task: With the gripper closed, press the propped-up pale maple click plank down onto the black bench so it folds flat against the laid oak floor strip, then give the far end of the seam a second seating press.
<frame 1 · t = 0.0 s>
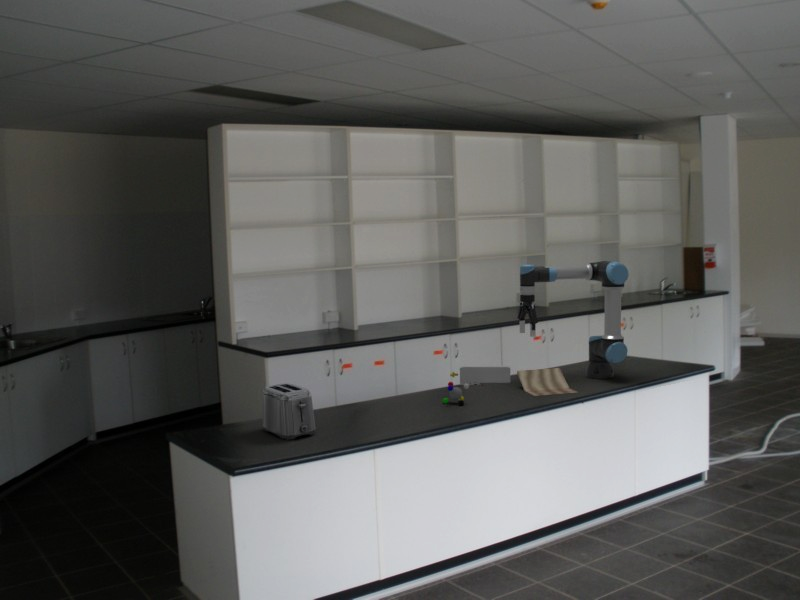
hand: (527, 334, 399), 28 cm above the counter, fingers open, 13 cm apart
floor strip: (547, 392, 390), on the counter
molecular model: (456, 403, 370), on the counter
toaster: (287, 432, 324), on the counter
plank: (542, 380, 395), point 5 cm above the counter, hinge at 38.0°
decorative sign: (480, 385, 412), on the counter
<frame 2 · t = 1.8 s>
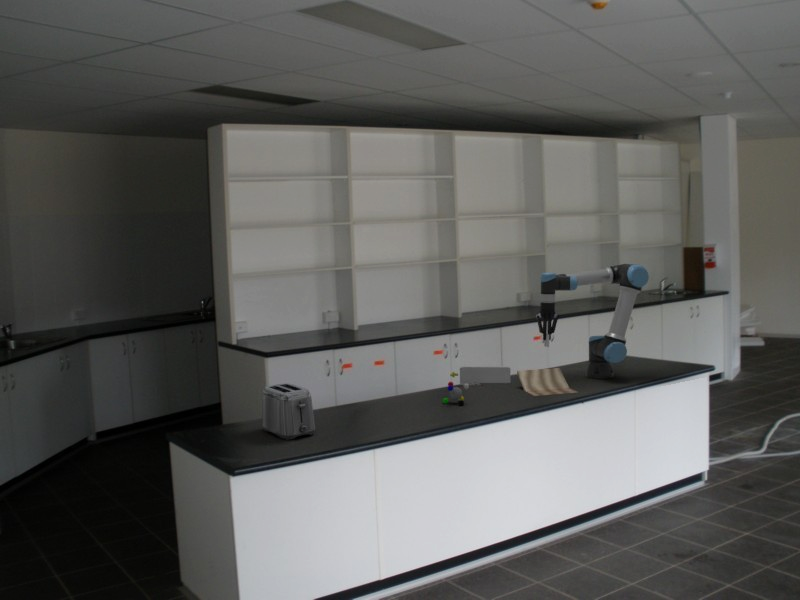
hand: (546, 346, 404), 21 cm above the counter, fingers closed
nothing on the counter moved.
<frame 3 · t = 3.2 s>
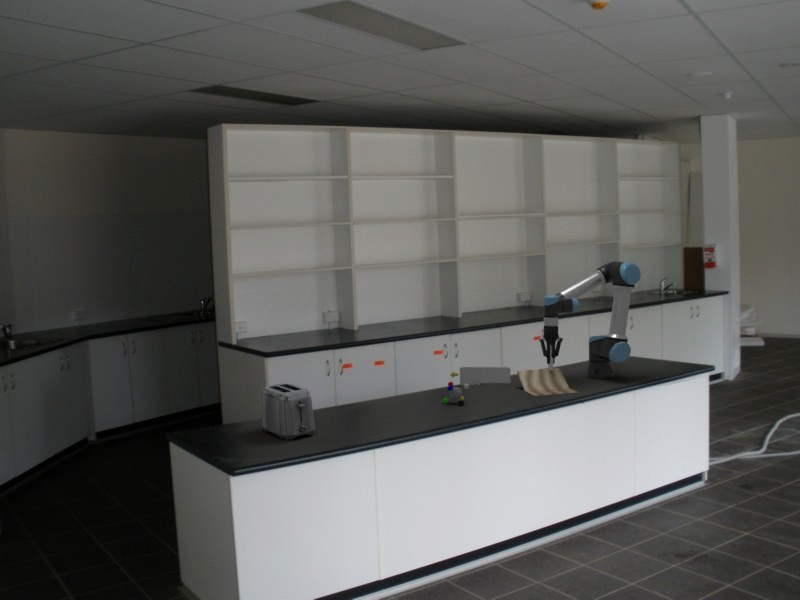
hand: (550, 369, 399), 9 cm above the counter, fingers closed
plank: (542, 380, 395), point 5 cm above the counter, hinge at 38.0°, touching gripper
everything else where it was.
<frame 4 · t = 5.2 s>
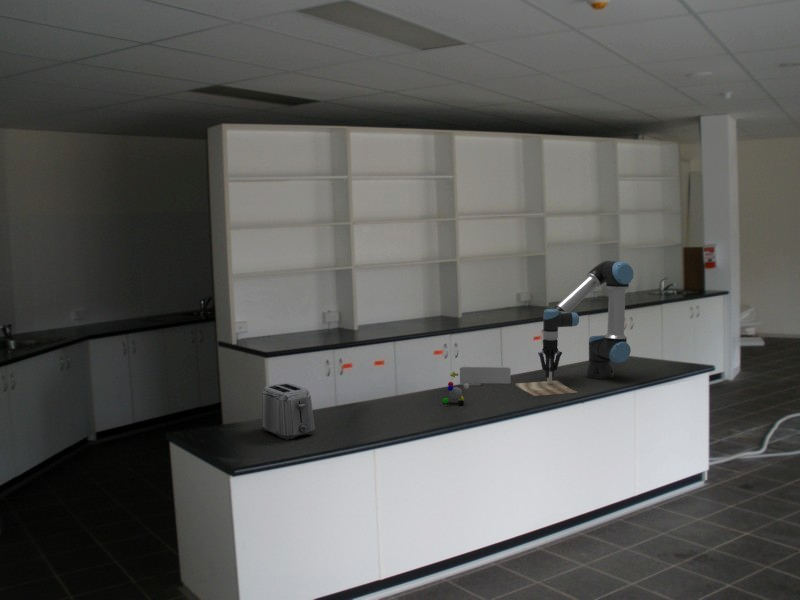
hand: (549, 383, 400), 2 cm above the counter, fingers closed
plank: (542, 386, 397), point 1 cm above the counter, hinge at 5.1°, touching gripper
everything else where it was.
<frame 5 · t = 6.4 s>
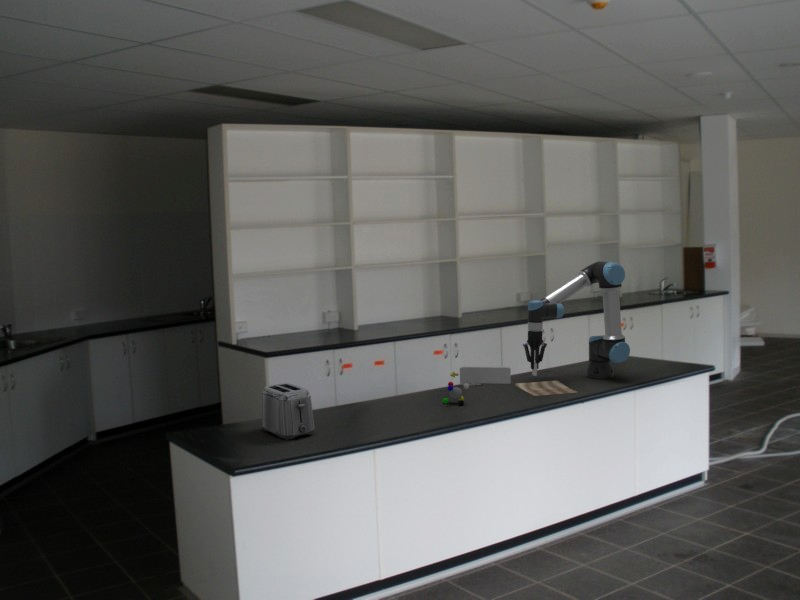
hand: (534, 375, 397), 7 cm above the counter, fingers closed
plank: (542, 386, 397), point 1 cm above the counter, hinge at 5.1°
everything else where it was.
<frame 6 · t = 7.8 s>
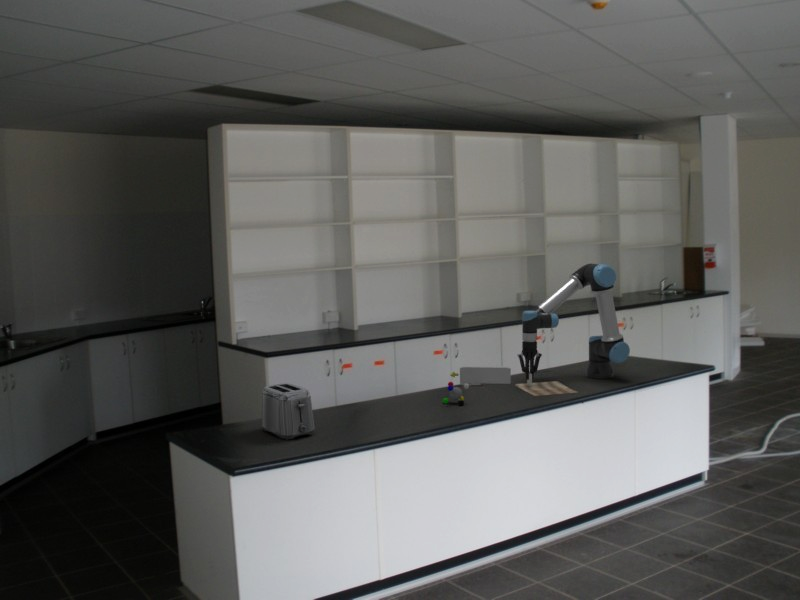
hand: (529, 385, 397), 2 cm above the counter, fingers closed
plank: (542, 387, 397), point 1 cm above the counter, hinge at 3.9°, touching gripper
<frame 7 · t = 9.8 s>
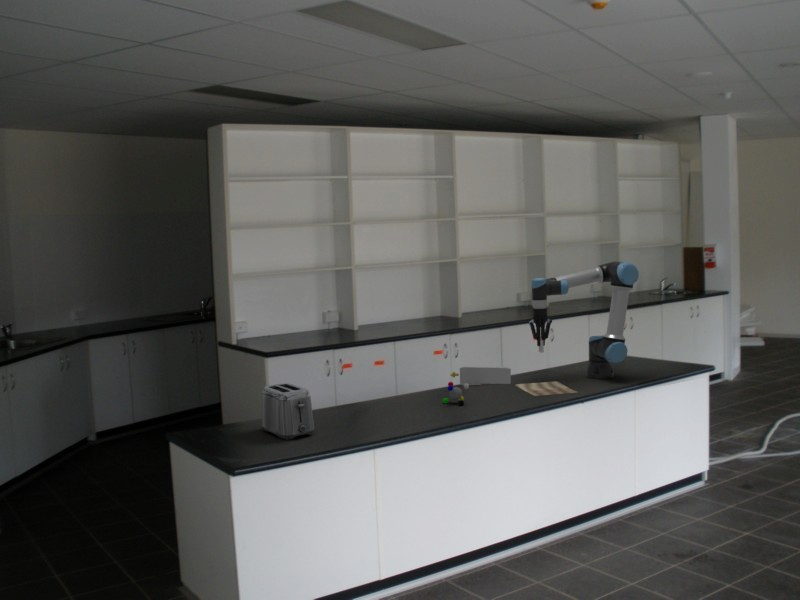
hand: (541, 352, 402), 18 cm above the counter, fingers closed
plank: (542, 387, 397), point 1 cm above the counter, hinge at 3.4°
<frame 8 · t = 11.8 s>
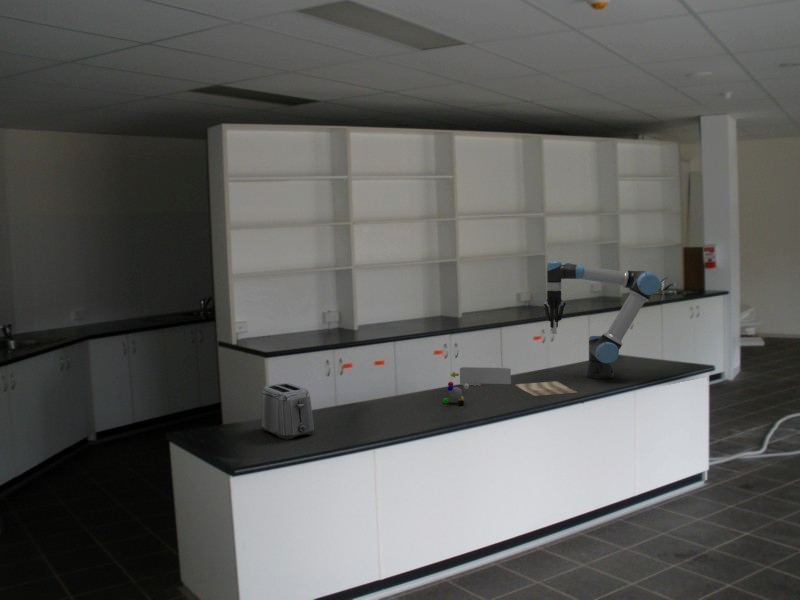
hand: (554, 333, 412), 26 cm above the counter, fingers closed
at the end: plank at +3° (first picture: +38°) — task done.
